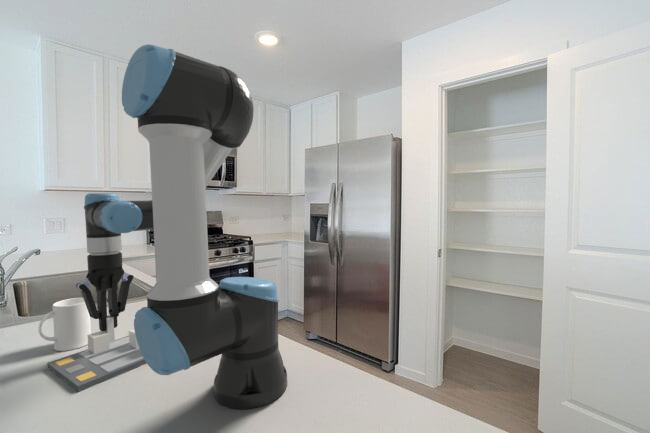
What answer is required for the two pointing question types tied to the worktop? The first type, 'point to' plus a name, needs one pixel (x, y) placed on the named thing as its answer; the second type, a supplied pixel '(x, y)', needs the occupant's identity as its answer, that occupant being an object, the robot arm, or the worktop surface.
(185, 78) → the robot arm
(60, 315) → the mug
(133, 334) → the cream cube block
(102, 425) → the worktop surface
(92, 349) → the off-white cube
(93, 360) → the switch bank
